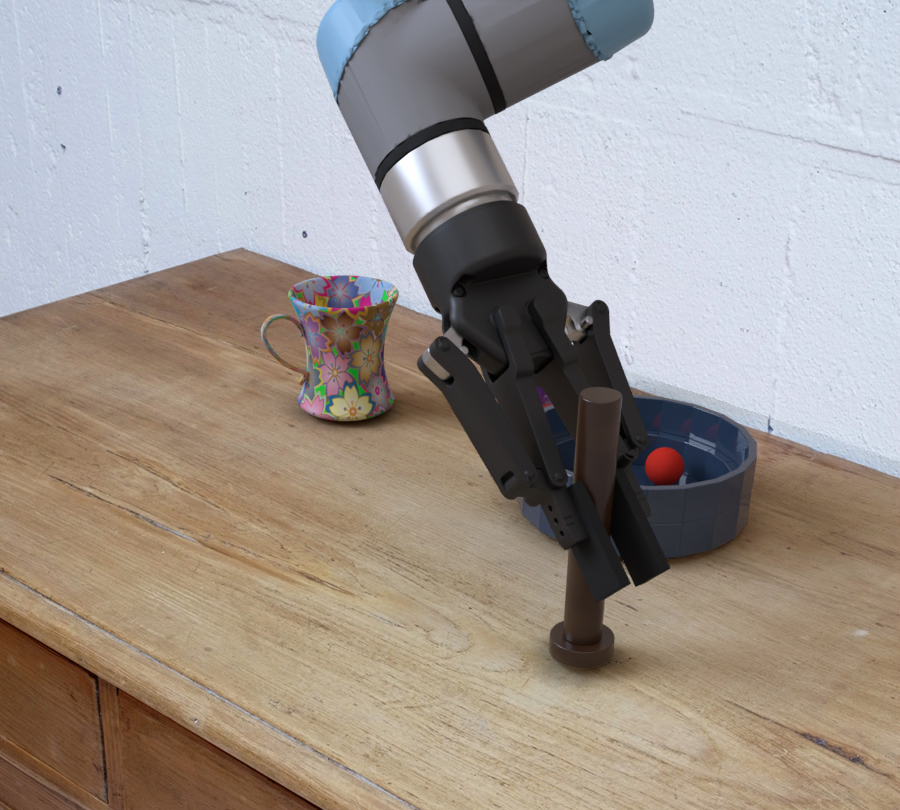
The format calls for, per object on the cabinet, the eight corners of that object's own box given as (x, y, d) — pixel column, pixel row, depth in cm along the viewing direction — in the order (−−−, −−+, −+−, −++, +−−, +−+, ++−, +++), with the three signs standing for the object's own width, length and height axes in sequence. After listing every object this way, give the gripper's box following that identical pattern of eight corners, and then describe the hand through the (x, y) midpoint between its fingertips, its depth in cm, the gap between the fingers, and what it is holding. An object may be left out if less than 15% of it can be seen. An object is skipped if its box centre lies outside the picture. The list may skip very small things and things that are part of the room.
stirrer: (605, 632, 84) (627, 380, 75) (619, 667, 80) (644, 407, 71) (543, 635, 83) (558, 382, 74) (554, 670, 80) (571, 409, 71)
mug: (376, 383, 121) (375, 270, 116) (415, 420, 114) (415, 301, 109) (250, 402, 117) (243, 285, 112) (282, 441, 110) (276, 318, 104)
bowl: (709, 460, 108) (718, 391, 105) (776, 561, 93) (789, 485, 90) (502, 466, 106) (505, 396, 103) (538, 570, 92) (542, 492, 88)
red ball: (676, 475, 104) (680, 440, 102) (686, 492, 101) (690, 456, 100) (639, 476, 104) (643, 441, 102) (648, 493, 101) (652, 457, 100)
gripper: (535, 244, 86) (690, 569, 83) (333, 284, 78) (497, 645, 75) (595, 177, 79) (766, 526, 76) (382, 213, 71) (563, 604, 68)
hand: (633, 584), depth 76 cm, fingers closed on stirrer, 2 cm apart
